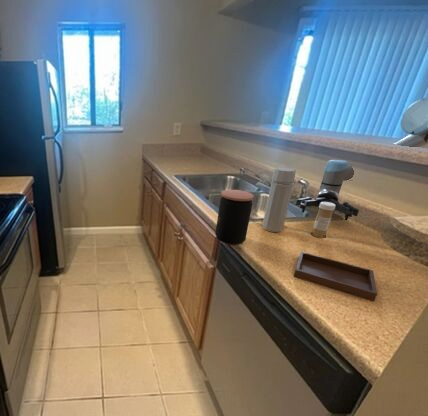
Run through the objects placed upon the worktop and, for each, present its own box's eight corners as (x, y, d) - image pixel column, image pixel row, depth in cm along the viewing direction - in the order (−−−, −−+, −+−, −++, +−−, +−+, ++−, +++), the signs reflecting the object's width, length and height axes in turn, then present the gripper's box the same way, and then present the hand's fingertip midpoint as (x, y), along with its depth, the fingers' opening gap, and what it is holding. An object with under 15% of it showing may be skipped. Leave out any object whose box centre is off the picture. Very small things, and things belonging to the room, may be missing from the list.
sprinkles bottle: (312, 232, 109) (321, 200, 104) (326, 236, 106) (337, 203, 101) (309, 236, 106) (319, 203, 101) (324, 239, 103) (334, 206, 98)
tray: (370, 277, 81) (373, 270, 80) (374, 301, 71) (377, 294, 70) (299, 257, 91) (300, 251, 91) (293, 276, 82) (295, 269, 81)
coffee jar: (224, 230, 112) (231, 187, 105) (250, 239, 104) (259, 194, 97) (209, 237, 106) (215, 193, 100) (235, 248, 98) (244, 200, 91)
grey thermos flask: (262, 223, 117) (274, 166, 108) (284, 228, 112) (298, 168, 103) (258, 231, 110) (271, 170, 101) (281, 236, 106) (297, 173, 97)
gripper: (361, 213, 116) (363, 230, 101) (292, 201, 132) (285, 214, 116) (367, 196, 114) (370, 211, 99) (296, 186, 129) (289, 197, 114)
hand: (324, 213), depth 107 cm, fingers open, 13 cm apart
